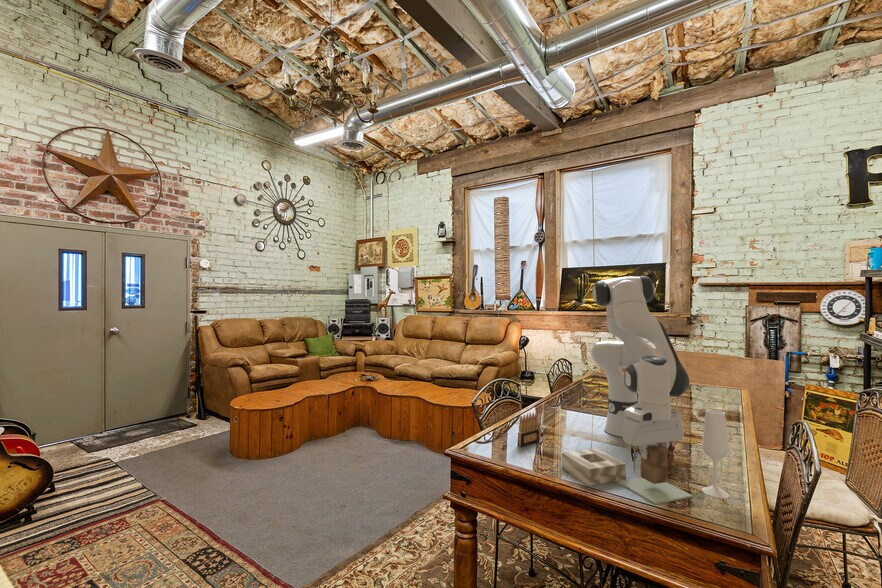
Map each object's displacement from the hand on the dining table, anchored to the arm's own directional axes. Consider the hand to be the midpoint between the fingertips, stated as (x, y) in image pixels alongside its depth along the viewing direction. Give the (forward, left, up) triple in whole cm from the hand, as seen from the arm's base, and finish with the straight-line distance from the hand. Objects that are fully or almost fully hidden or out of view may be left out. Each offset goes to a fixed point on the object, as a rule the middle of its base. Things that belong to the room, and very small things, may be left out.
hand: (653, 457), depth 122 cm
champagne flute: (-16, +7, -10) cm, 20 cm away
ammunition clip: (+16, -45, -10) cm, 49 cm away
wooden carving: (-17, -12, -10) cm, 23 cm away
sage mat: (0, 0, -10) cm, 10 cm away
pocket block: (+10, -15, -10) cm, 20 cm away
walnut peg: (0, 0, -7) cm, 7 cm away
